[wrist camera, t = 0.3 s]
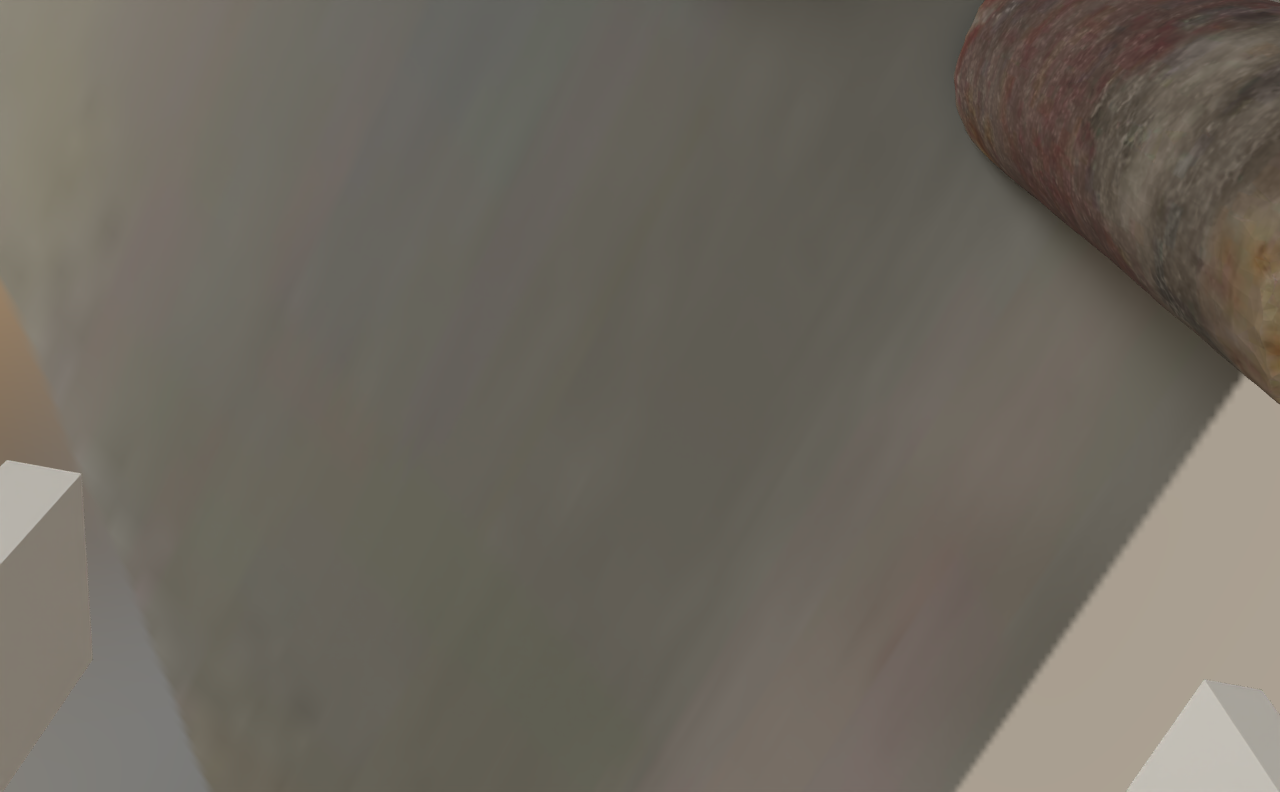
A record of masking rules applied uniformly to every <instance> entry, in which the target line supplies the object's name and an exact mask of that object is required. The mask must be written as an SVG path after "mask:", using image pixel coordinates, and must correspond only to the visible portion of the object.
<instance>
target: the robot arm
mask: <svg viewBox="0 0 1280 792" xmlns="http://www.w3.org/2000/svg"><path fill="white" fill-rule="evenodd" d="M92 655H93V654H92V638H91V621H90V604H89V589H88V571H87V555H86V538H85V523H84V506H83V490H82V474H81V473H75V472H69V471H64V470H59V469H53V468H48V467H42V466H37V465H31V464H26V463H20V462H15V461H9V460H7V461H6V462H5V463H4V464H2V465H1V466H0V792H3V791H4V789H5V788H6V786H7V785H8V784H9V782H10V781H11V779H12V778H13V776H14V775H15V773H16V772H17V770H18V769H19V767H20V766H21V764H22V763H23V761H24V760H25V758H26V757H27V756H28V754H29V753H30V751H31V750H32V748H33V747H34V745H35V744H36V742H37V741H38V739H39V738H40V736H41V735H42V733H43V732H44V731H45V729H46V727H47V726H48V725H49V723H50V722H51V720H52V719H53V717H54V716H55V714H56V713H57V711H58V710H59V708H60V707H61V705H62V704H63V703H64V701H65V700H66V698H67V697H68V695H69V693H70V692H71V691H72V689H73V688H74V686H75V685H76V683H77V682H78V680H79V679H80V677H81V676H82V674H83V673H84V671H85V670H86V669H87V667H88V666H89V664H90V663H91V661H92V660H93V656H92ZM1126 792H1280V714H1279V713H1278V711H1277V710H1276V709H1275V707H1274V706H1273V704H1272V703H1271V702H1270V700H1269V699H1268V698H1267V696H1266V695H1265V693H1264V692H1263V691H1262V690H1260V689H1254V688H1249V687H1243V686H1238V685H1233V684H1227V683H1222V682H1216V681H1211V680H1206V679H1205V680H1203V682H1202V683H1201V685H1200V686H1199V688H1198V689H1197V691H1196V692H1195V693H1194V695H1193V696H1192V698H1191V699H1190V701H1189V702H1188V703H1187V705H1186V706H1185V708H1184V709H1183V711H1182V712H1181V713H1180V715H1179V716H1178V718H1177V719H1176V720H1175V722H1174V723H1173V725H1172V726H1171V728H1170V729H1169V731H1168V732H1167V733H1166V735H1165V736H1164V738H1163V739H1162V740H1161V742H1160V743H1159V745H1158V746H1157V748H1156V749H1155V750H1154V752H1153V753H1152V755H1151V756H1150V758H1149V759H1148V760H1147V762H1146V763H1145V765H1144V766H1143V768H1142V769H1141V771H1140V772H1139V773H1138V775H1137V776H1136V778H1135V779H1134V780H1133V782H1132V783H1131V785H1130V786H1129V788H1128V789H1127V791H1126Z"/></svg>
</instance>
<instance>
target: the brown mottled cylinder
mask: <svg viewBox="0 0 1280 792" xmlns="http://www.w3.org/2000/svg"><path fill="white" fill-rule="evenodd" d="M954 83H955V95H956V107H957V110H958V113H959V115H960V117H961V119H962V121H963V124H964V126H965V129H966V131H967V133H968V135H969V136H970V138H971V140H972V141H973V142H974V143H975V144H976V145H977V147H978V148H979V149H980V150H981V151H982V152H983V153H984V154H985V155H986V156H987V157H988V158H989V159H990V160H991V161H992V162H993V163H995V164H996V165H997V166H998V167H999V168H1000V169H1001V170H1003V171H1004V172H1005V173H1006V174H1007V175H1008V176H1009V177H1010V178H1012V179H1013V180H1014V181H1015V182H1016V183H1017V184H1018V185H1020V186H1021V187H1022V188H1024V189H1025V190H1026V191H1027V192H1029V193H1030V194H1031V195H1032V196H1034V197H1035V198H1036V199H1037V200H1039V201H1040V202H1041V203H1042V204H1044V205H1045V206H1046V207H1047V208H1048V209H1049V210H1051V211H1052V212H1053V213H1054V214H1055V215H1056V216H1058V217H1059V218H1060V219H1061V220H1062V221H1064V222H1065V223H1066V224H1067V225H1068V226H1070V227H1071V228H1072V229H1073V230H1074V231H1076V232H1077V233H1078V234H1080V235H1081V236H1082V237H1084V238H1085V239H1086V240H1087V241H1088V242H1090V243H1091V244H1092V245H1093V246H1095V247H1096V248H1097V249H1098V250H1099V251H1101V252H1102V253H1103V254H1104V255H1105V256H1107V257H1108V258H1110V259H1111V260H1112V261H1113V262H1114V263H1115V264H1116V265H1117V266H1118V267H1119V268H1120V269H1121V270H1123V271H1124V272H1125V273H1126V274H1127V275H1128V276H1129V277H1130V278H1131V279H1133V280H1134V281H1135V282H1136V283H1137V284H1138V285H1140V286H1141V287H1142V288H1143V289H1144V290H1145V291H1147V292H1148V293H1149V294H1150V295H1151V296H1152V297H1153V298H1154V299H1155V300H1156V301H1157V302H1158V303H1159V304H1160V305H1162V306H1163V307H1164V308H1165V309H1166V310H1168V311H1169V312H1170V313H1171V314H1173V315H1174V316H1175V317H1176V318H1178V319H1179V320H1180V321H1182V322H1183V323H1184V324H1186V325H1187V326H1188V327H1189V328H1190V329H1192V330H1193V331H1194V332H1195V333H1197V334H1198V335H1199V336H1200V337H1201V338H1202V339H1204V340H1205V341H1206V342H1207V343H1208V344H1209V345H1210V346H1211V347H1212V348H1213V349H1214V350H1215V351H1216V352H1217V353H1219V354H1220V355H1221V356H1222V357H1224V358H1225V359H1226V360H1227V361H1229V362H1230V363H1231V364H1232V365H1234V366H1235V367H1236V368H1237V369H1238V370H1239V371H1240V372H1242V373H1243V374H1244V375H1245V376H1246V377H1247V378H1248V379H1250V380H1251V381H1252V382H1254V383H1255V384H1256V385H1257V386H1259V387H1260V388H1261V389H1262V390H1263V391H1264V392H1266V393H1267V394H1268V395H1269V396H1270V397H1271V398H1272V399H1274V400H1275V401H1276V402H1277V403H1279V404H1280V3H1278V2H1274V1H1270V0H985V1H984V2H983V4H982V5H981V6H980V7H979V9H978V12H977V14H976V16H975V19H974V21H973V23H972V26H971V27H970V29H969V31H968V33H967V35H966V38H965V42H964V45H963V47H962V50H961V52H960V55H959V57H958V60H957V64H956V69H955V73H954Z"/></svg>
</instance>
